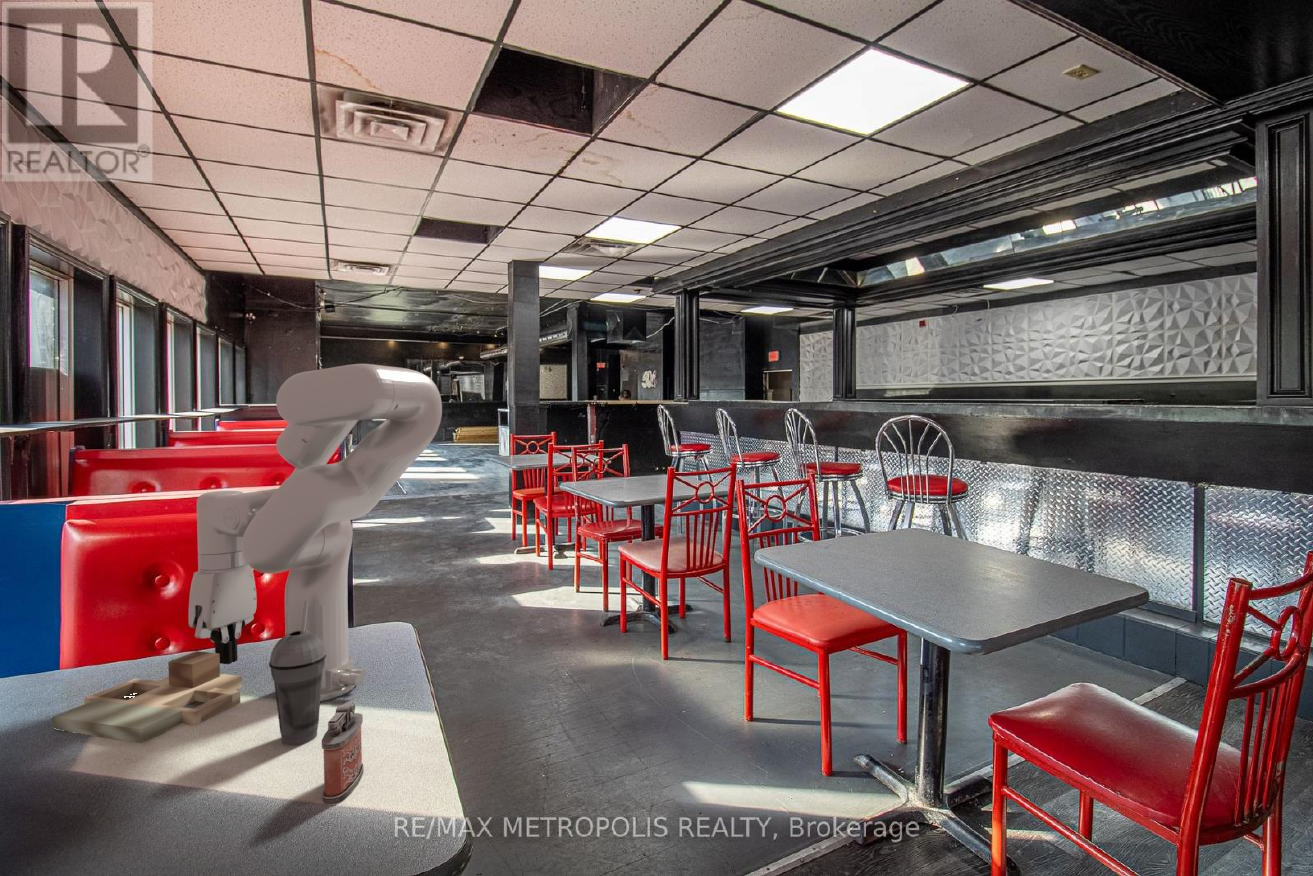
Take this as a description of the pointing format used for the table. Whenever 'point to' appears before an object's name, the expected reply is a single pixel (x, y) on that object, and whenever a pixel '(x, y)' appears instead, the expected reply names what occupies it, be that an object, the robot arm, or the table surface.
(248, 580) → the robot arm
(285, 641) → the beverage cup
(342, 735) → the lighter
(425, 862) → the table surface
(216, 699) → the board
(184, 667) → the walnut block
